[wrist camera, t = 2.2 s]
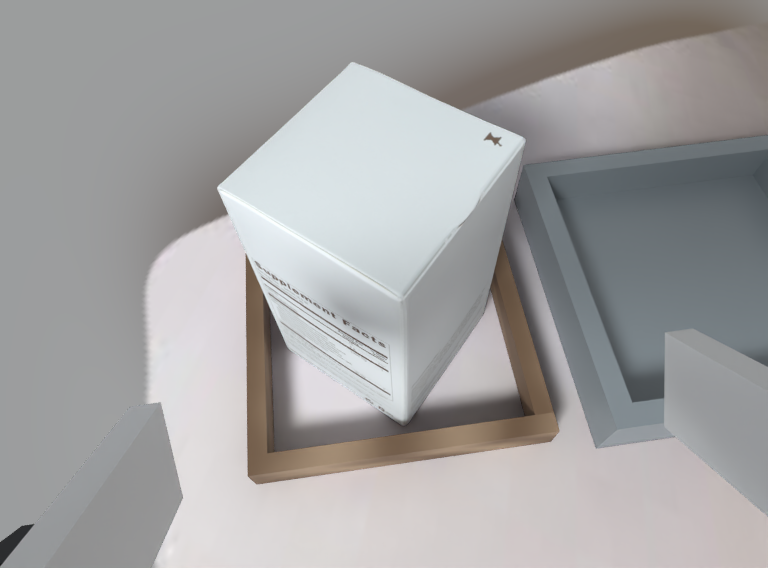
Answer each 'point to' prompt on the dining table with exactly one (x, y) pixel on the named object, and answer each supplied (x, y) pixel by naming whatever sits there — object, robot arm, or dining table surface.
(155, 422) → the robot arm
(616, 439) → the grey tray
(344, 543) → the dining table surface
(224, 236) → the dining table surface
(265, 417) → the walnut collar
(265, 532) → the dining table surface
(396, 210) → the supplement box
